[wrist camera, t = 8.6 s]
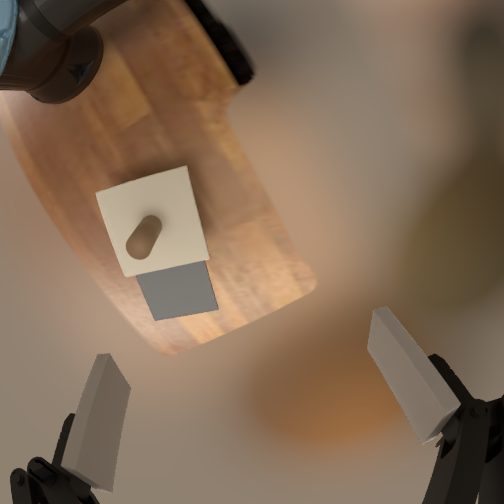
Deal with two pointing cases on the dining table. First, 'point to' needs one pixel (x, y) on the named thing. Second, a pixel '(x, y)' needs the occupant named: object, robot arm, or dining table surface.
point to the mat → (178, 291)
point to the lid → (154, 222)
